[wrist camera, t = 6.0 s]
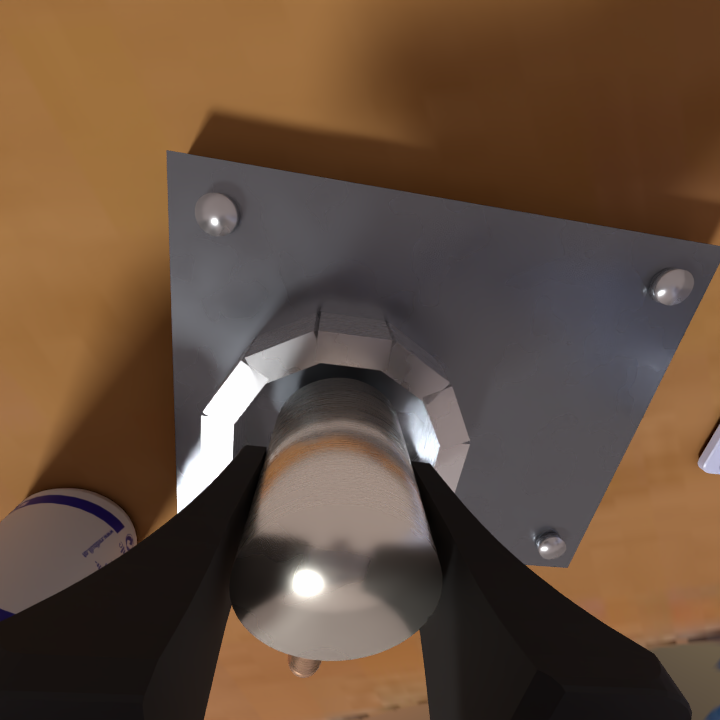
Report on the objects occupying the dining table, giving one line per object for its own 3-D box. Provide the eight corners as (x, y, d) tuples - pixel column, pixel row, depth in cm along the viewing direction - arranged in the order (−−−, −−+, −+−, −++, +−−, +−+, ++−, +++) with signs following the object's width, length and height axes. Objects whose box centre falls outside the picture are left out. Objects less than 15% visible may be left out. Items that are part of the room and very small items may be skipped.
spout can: (415, 392, 13) (472, 527, 8) (367, 533, 15) (384, 720, 10) (287, 364, 13) (246, 489, 7) (256, 515, 15) (205, 703, 9)
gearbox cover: (689, 242, 14) (791, 255, 11) (551, 541, 20) (592, 608, 17) (185, 155, 12) (131, 140, 9) (190, 513, 18) (158, 581, 15)
